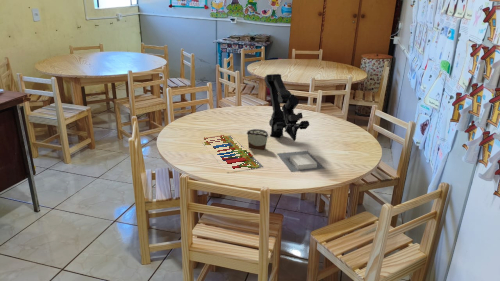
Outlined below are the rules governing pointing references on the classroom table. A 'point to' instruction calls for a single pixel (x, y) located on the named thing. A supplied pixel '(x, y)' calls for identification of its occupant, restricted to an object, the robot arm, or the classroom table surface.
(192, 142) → the classroom table surface
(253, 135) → the food container
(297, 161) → the picture tile
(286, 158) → the felt mat
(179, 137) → the classroom table surface
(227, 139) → the multicolored flat board
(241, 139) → the classroom table surface
